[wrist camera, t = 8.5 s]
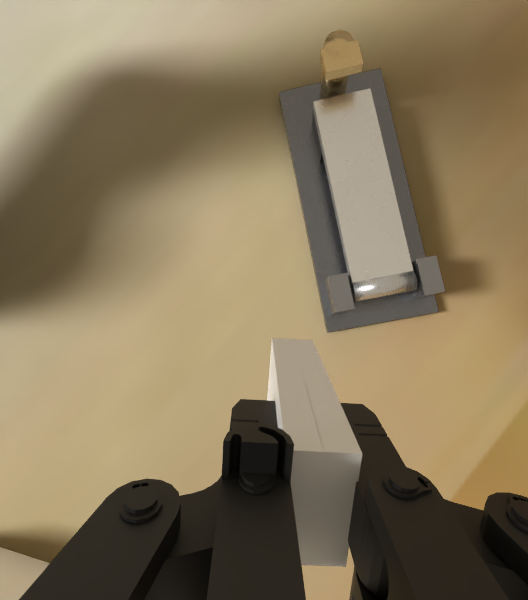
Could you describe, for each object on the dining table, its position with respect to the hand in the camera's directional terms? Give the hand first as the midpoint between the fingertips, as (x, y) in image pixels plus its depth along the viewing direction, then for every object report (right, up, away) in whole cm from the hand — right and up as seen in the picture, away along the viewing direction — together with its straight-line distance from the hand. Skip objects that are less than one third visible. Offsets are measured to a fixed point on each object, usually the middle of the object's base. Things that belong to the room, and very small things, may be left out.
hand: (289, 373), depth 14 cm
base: (+8, +12, +22) cm, 27 cm away
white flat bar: (+8, +12, +19) cm, 24 cm away
